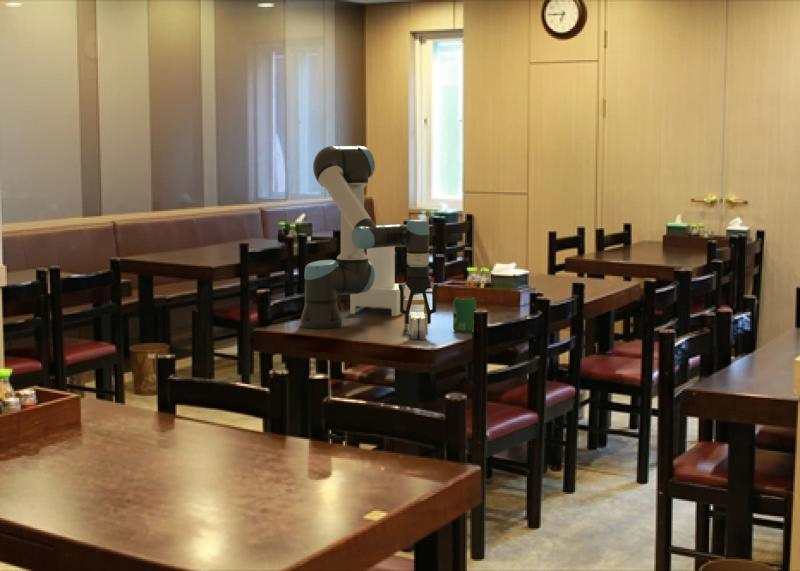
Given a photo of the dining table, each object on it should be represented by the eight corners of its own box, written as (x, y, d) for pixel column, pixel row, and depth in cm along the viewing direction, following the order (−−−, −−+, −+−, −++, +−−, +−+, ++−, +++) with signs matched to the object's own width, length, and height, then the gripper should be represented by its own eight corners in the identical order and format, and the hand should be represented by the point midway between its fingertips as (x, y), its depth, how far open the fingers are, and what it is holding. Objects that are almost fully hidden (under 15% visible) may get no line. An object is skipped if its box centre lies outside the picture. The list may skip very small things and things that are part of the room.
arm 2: (416, 330, 404) (416, 310, 403) (423, 330, 404) (423, 310, 403) (418, 339, 386) (418, 319, 385) (425, 339, 386) (425, 319, 385)
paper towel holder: (350, 313, 444) (349, 236, 440) (366, 306, 462) (365, 232, 458) (396, 316, 438) (396, 237, 434) (410, 309, 456) (410, 233, 452)
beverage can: (451, 329, 407) (452, 296, 405) (474, 329, 407) (474, 296, 406) (454, 333, 399) (454, 299, 397) (477, 333, 399) (477, 299, 398)
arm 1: (409, 330, 404) (409, 310, 403) (415, 330, 404) (415, 310, 403) (411, 339, 386) (411, 319, 385) (418, 339, 386) (418, 319, 385)
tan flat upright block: (404, 328, 408) (404, 298, 407) (427, 328, 409) (427, 298, 407) (404, 329, 406) (404, 299, 405) (427, 329, 406) (427, 299, 405)
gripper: (391, 266, 383) (391, 335, 386) (445, 266, 384) (444, 335, 387) (391, 264, 391) (391, 331, 394) (443, 264, 391) (443, 331, 394)
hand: (417, 333), depth 390 cm, fingers open, 5 cm apart
